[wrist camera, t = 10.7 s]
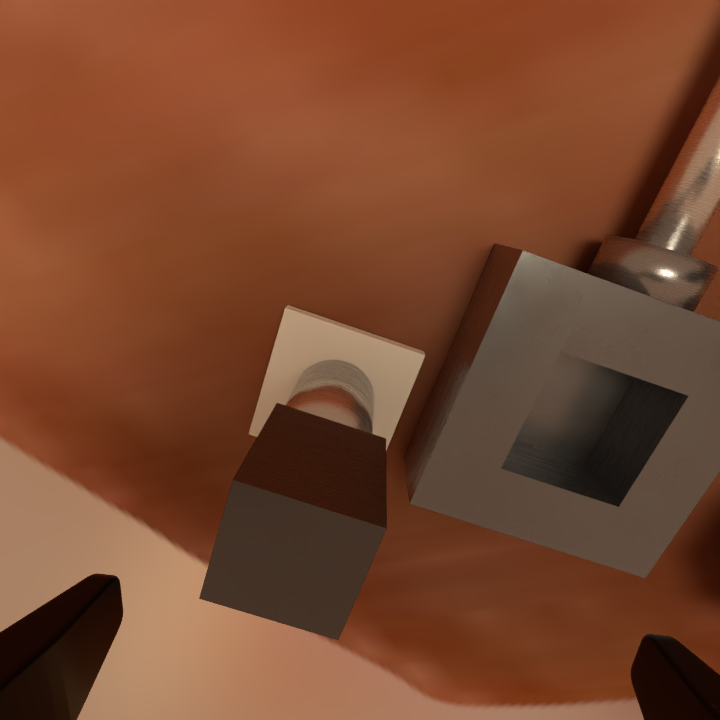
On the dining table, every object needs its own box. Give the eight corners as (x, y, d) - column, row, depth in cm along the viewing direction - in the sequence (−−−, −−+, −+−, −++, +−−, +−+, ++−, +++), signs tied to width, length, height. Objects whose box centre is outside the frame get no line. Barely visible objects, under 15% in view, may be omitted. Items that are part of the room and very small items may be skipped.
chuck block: (894, 52, 15) (1049, 3, 11) (602, 520, 21) (646, 580, 18) (624, -61, 14) (702, -149, 11) (404, 456, 20) (409, 505, 17)
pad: (423, 351, 19) (425, 355, 18) (376, 468, 21) (376, 475, 20) (287, 304, 18) (285, 307, 18) (252, 428, 20) (248, 434, 20)
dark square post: (385, 374, 18) (386, 528, 9) (359, 443, 20) (338, 640, 10) (307, 348, 18) (233, 479, 9) (285, 419, 19) (199, 598, 10)
